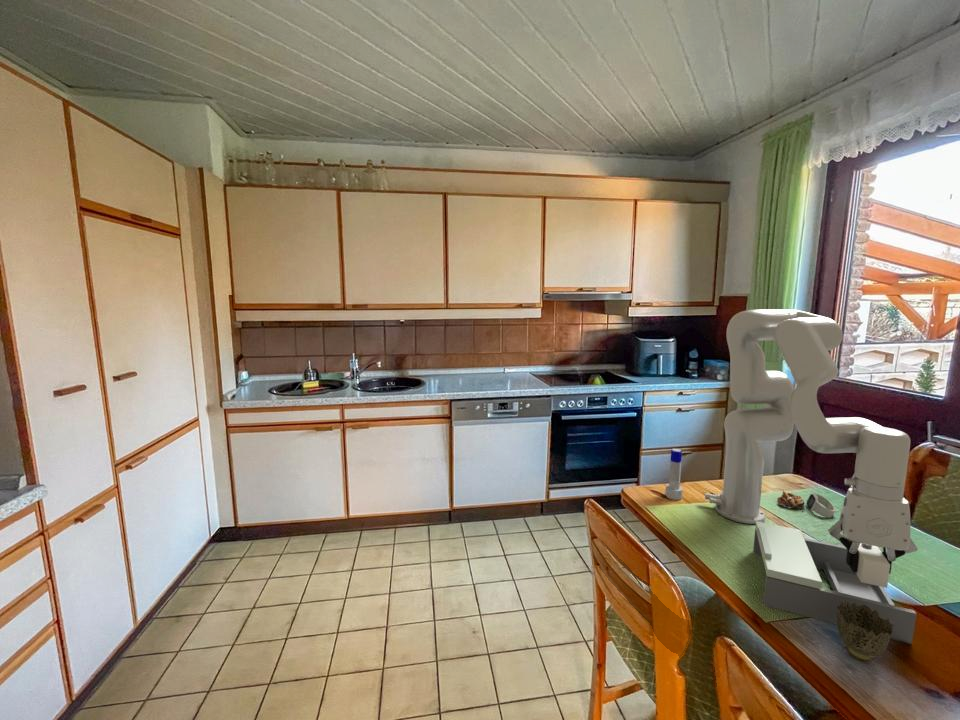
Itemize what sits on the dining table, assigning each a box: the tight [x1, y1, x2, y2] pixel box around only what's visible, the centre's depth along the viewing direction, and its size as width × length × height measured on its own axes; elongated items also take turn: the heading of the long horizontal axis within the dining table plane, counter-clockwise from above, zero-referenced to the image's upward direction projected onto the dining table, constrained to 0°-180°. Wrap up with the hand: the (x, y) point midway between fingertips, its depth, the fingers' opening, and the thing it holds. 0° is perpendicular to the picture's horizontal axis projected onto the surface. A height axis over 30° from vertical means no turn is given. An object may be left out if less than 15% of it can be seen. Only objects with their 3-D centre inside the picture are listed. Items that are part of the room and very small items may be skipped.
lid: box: [755, 521, 823, 589], centre depth 96 cm, size 9×21×3 cm, turn 153°
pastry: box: [776, 490, 806, 513], centre depth 133 cm, size 7×12×4 cm, turn 149°
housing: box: [752, 528, 917, 645], centre depth 93 cm, size 23×21×6 cm
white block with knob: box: [856, 543, 890, 589], centre depth 89 cm, size 4×8×6 cm, turn 153°
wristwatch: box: [806, 492, 837, 518], centre depth 128 cm, size 9×6×5 cm
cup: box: [837, 602, 894, 663], centre depth 76 cm, size 8×7×8 cm
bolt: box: [664, 448, 684, 501], centre depth 136 cm, size 16×5×5 cm
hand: (867, 570), depth 89 cm, fingers closed on white block with knob, 4 cm apart
